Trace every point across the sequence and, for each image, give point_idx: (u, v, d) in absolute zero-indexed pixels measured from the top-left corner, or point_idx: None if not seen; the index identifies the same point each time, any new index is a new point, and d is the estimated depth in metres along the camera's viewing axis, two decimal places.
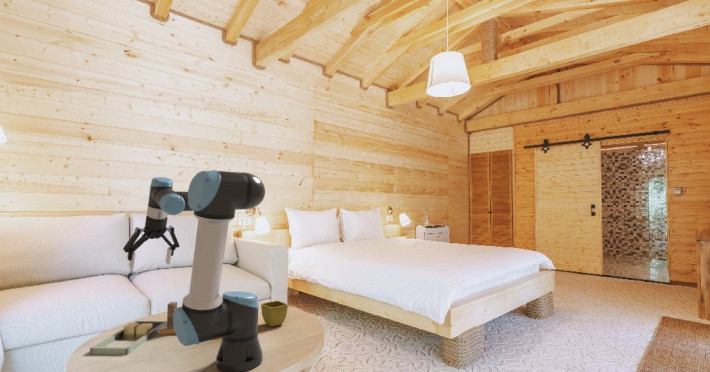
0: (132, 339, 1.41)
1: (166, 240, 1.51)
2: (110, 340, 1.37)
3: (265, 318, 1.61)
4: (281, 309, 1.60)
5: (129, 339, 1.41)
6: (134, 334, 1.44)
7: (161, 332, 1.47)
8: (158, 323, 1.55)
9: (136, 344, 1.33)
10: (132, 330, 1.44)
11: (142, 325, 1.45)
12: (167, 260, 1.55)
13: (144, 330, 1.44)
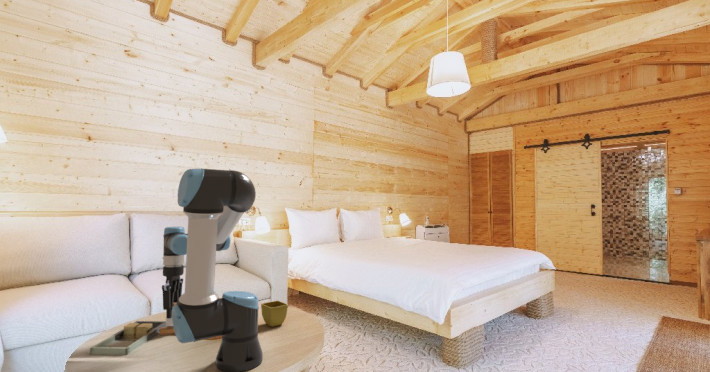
0: (132, 339, 1.41)
1: (177, 292, 1.51)
2: (110, 340, 1.37)
3: (265, 318, 1.61)
4: (281, 309, 1.60)
5: (129, 339, 1.41)
6: (134, 334, 1.44)
7: (161, 332, 1.47)
8: (158, 323, 1.55)
9: (136, 344, 1.33)
10: (132, 330, 1.44)
11: (142, 325, 1.45)
12: None
13: (144, 330, 1.44)
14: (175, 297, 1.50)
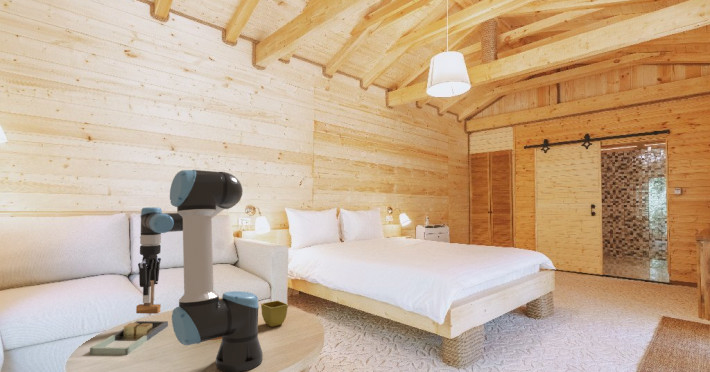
0: (132, 339, 1.41)
1: (154, 271, 1.56)
2: (110, 340, 1.37)
3: (265, 318, 1.61)
4: (281, 309, 1.60)
5: (129, 339, 1.41)
6: (134, 334, 1.44)
7: (138, 309, 1.52)
8: (158, 323, 1.55)
9: (136, 344, 1.33)
10: (132, 330, 1.44)
11: (142, 325, 1.45)
12: None
13: (144, 330, 1.44)
14: (152, 275, 1.55)
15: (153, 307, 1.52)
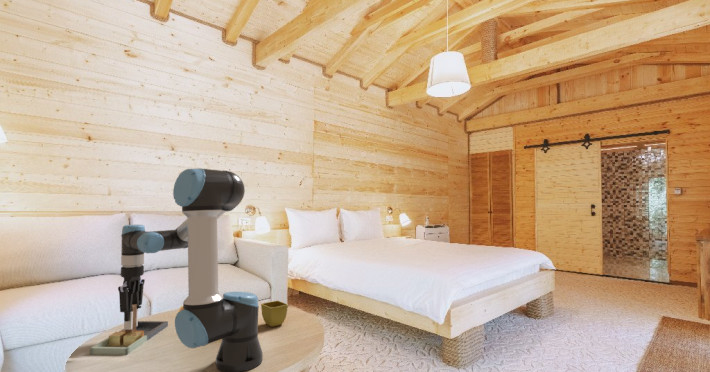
0: None
1: (137, 294, 1.43)
2: None
3: (265, 318, 1.61)
4: (281, 309, 1.60)
5: None
6: (120, 344, 1.36)
7: None
8: (158, 323, 1.55)
9: (136, 344, 1.33)
10: (118, 339, 1.35)
11: (129, 334, 1.37)
12: None
13: (132, 340, 1.36)
14: (135, 299, 1.43)
15: None
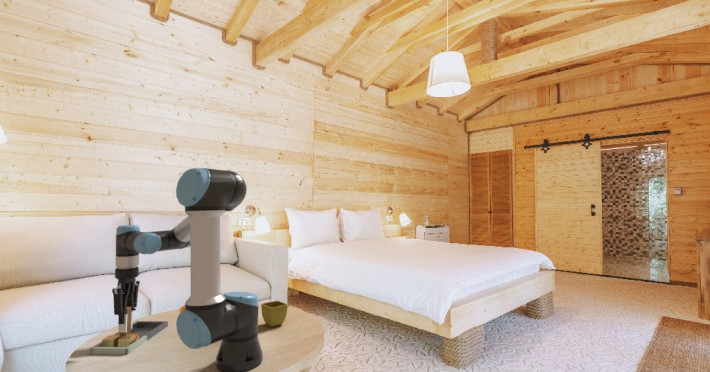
0: None
1: (132, 296, 1.40)
2: None
3: (265, 318, 1.61)
4: (281, 309, 1.60)
5: None
6: None
7: None
8: (158, 323, 1.55)
9: (136, 344, 1.33)
10: (111, 343, 1.32)
11: (124, 338, 1.34)
12: None
13: (127, 343, 1.32)
14: (129, 301, 1.39)
15: None
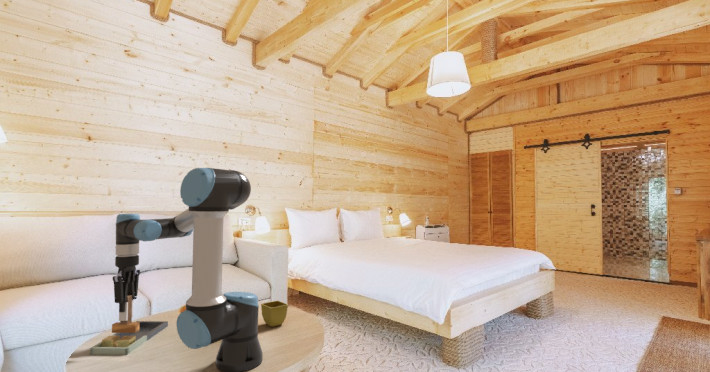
0: None
1: (132, 284, 1.40)
2: None
3: (265, 318, 1.61)
4: (281, 309, 1.60)
5: None
6: None
7: (114, 328, 1.36)
8: (158, 323, 1.55)
9: (136, 344, 1.33)
10: (111, 343, 1.32)
11: (124, 338, 1.33)
12: None
13: (126, 344, 1.32)
14: (130, 290, 1.39)
15: (131, 325, 1.36)
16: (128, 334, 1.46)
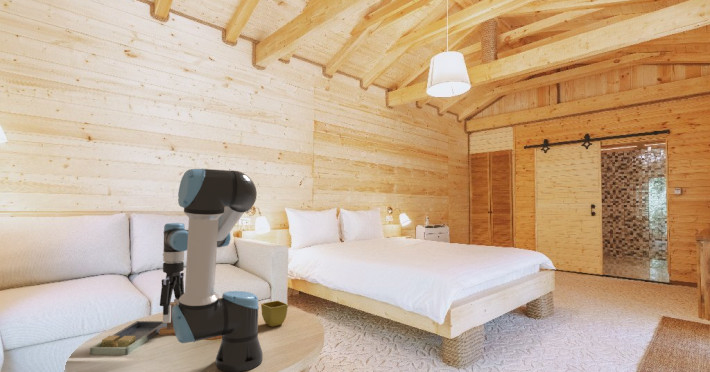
0: None
1: (179, 287, 1.52)
2: None
3: (265, 318, 1.61)
4: (281, 309, 1.60)
5: None
6: None
7: (161, 332, 1.47)
8: (158, 323, 1.55)
9: (136, 344, 1.33)
10: (111, 343, 1.32)
11: (124, 338, 1.33)
12: None
13: (126, 344, 1.32)
14: (177, 291, 1.52)
15: None
16: (128, 334, 1.46)
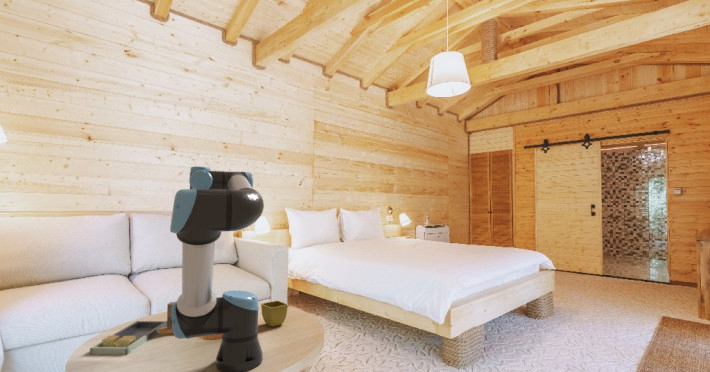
0: None
1: None
2: None
3: (265, 318, 1.61)
4: (281, 309, 1.60)
5: None
6: None
7: (161, 332, 1.47)
8: (158, 323, 1.55)
9: (136, 344, 1.33)
10: (111, 343, 1.32)
11: (124, 338, 1.33)
12: None
13: (126, 344, 1.32)
14: None
15: None
16: (128, 334, 1.46)
